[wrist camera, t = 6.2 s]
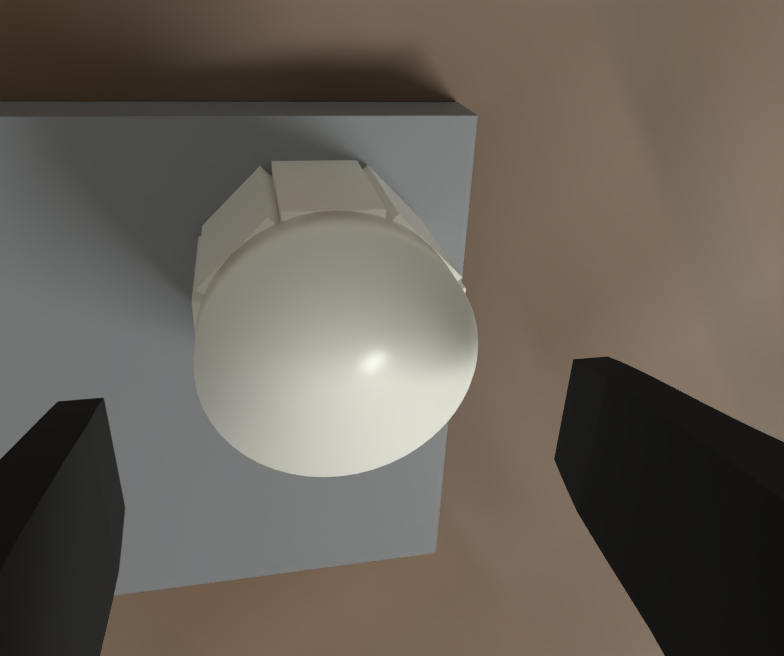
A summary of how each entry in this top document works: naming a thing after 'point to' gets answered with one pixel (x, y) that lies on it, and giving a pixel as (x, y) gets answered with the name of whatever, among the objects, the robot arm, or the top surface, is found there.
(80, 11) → the top surface
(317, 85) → the top surface
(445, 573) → the top surface
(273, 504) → the board
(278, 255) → the cap
